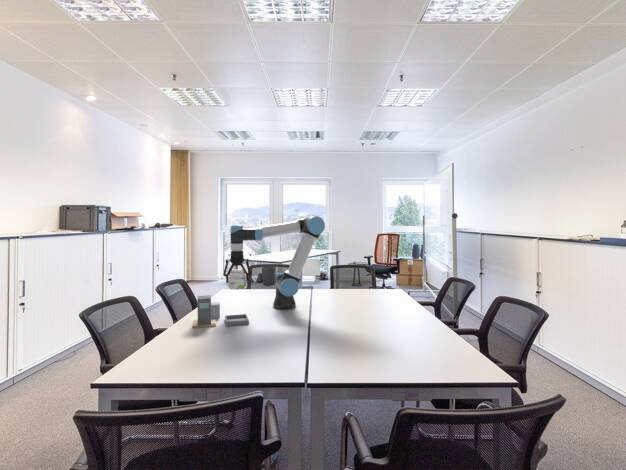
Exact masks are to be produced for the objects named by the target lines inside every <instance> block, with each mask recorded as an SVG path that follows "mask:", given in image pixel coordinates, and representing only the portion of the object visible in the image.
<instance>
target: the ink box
mask: <svg viewBox="0 0 626 470" xmlns="http://www.w3.org/2000/svg"><path fill="white" fill-rule="evenodd" d="M245 276H246V274H245V272H244V270H243V269H237V268H235V269H234V268H232V270H231V272H230V274H229V277H230V288H229V290H244V289H245V288H246V287H245Z"/></svg>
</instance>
